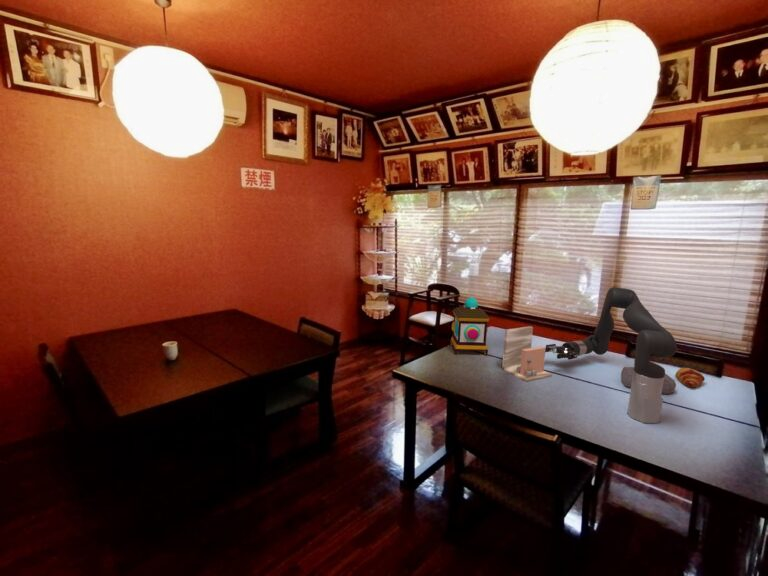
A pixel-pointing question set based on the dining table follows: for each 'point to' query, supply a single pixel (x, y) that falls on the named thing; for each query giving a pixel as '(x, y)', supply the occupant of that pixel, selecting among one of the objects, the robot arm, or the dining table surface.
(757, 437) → the dining table surface
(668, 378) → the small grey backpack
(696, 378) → the croissant
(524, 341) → the wooden bookend stand
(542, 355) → the door
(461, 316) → the decorative lantern
